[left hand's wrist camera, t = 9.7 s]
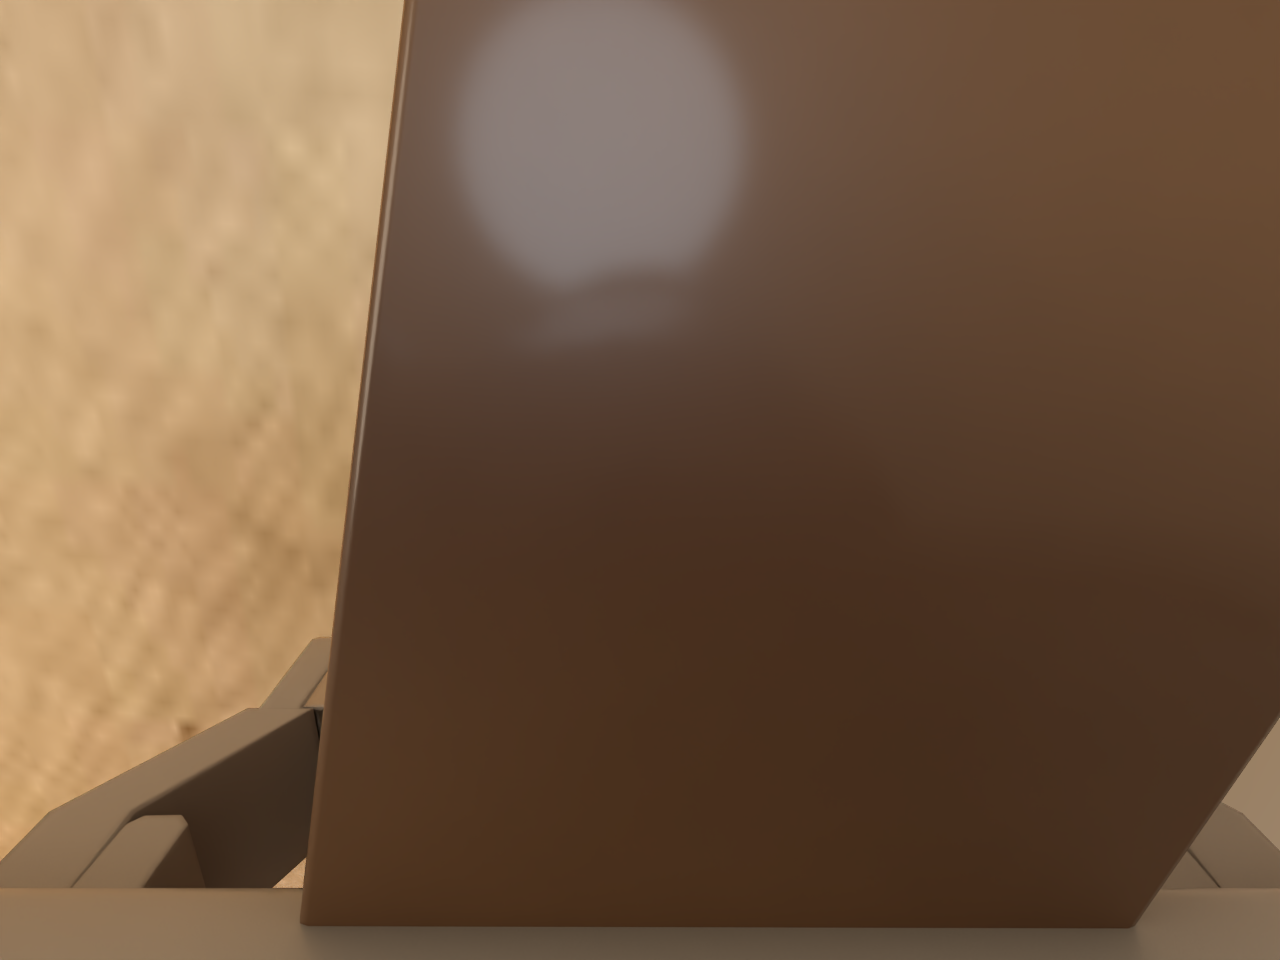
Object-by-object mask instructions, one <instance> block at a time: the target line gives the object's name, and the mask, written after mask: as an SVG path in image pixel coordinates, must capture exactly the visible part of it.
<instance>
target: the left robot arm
mask: <svg viewBox="0 0 1280 960" xmlns="http://www.w3.org/2000/svg"><path fill="white" fill-rule="evenodd" d="M331 638H332V637H319V638H316V639H312V640H311V641H310V643H309V644H308V645H307V647H306V648H305V649H304V650H303V652H302V653H301V654H300V656H299V657H298V658H297V660H296V661H295V662H294V663H293V665H292V666H291V667H290V669H289V670H288V671H287V673H286V674H285V675H284V677H283V678H282V679H281V680H280V682H279V683H278V684H277V686H276V687H275V688H274V690H273V691H272V692H271V694H270V695H269V696H268V697H267V699H266V700H265V701H264V703H263V704H262V705H261V707H260V708H247V709H245V710H243V711H242V712H240V713H238V714H236V715H234V716H232V717H230V718H228V719H226V720H224V721H222V722H221V723H219V724H217V725H215V726H213V727H211V728H209V729H207V730H205V731H203V732H201V733H199V734H198V735H196V736H194V737H192V738H190V739H188V740H186V741H184V742H182V743H180V744H178V745H176V746H175V747H173V748H171V749H169V750H167V751H165V752H163V753H161V754H159V755H157V756H155V757H153V758H152V759H150V760H148V761H146V762H144V763H142V764H140V765H138V766H136V767H134V768H132V769H130V770H129V771H127V772H125V773H123V774H121V775H119V776H117V777H115V778H113V779H111V780H109V781H107V782H106V783H104V784H102V785H100V786H98V787H96V788H94V789H92V790H90V791H88V792H86V793H84V794H83V795H81V796H79V797H77V798H75V799H73V800H71V801H69V802H67V803H65V804H63V805H61V806H60V807H58V808H56V809H54V810H52V811H50V812H48V814H47V815H46V816H45V817H44V818H43V819H42V820H41V821H40V822H39V823H38V824H37V825H36V826H35V827H34V828H33V829H32V830H31V831H30V832H29V833H28V834H27V835H26V836H25V837H24V838H23V839H22V840H21V841H20V842H19V843H18V844H17V845H16V846H15V847H14V848H13V849H12V850H11V851H10V852H9V853H8V854H7V855H6V856H5V857H4V858H3V859H2V860H1V861H0V960H1280V850H1279V849H1278V848H1277V847H1276V846H1275V845H1274V844H1273V843H1272V842H1271V841H1270V840H1269V839H1268V838H1267V837H1266V836H1265V835H1264V834H1263V833H1262V832H1261V831H1260V830H1259V829H1258V828H1257V827H1256V826H1255V825H1254V824H1253V823H1252V822H1251V821H1250V820H1249V819H1248V818H1247V817H1246V816H1245V815H1244V814H1243V813H1241V812H1239V811H1237V810H1235V809H1234V808H1232V807H1230V806H1228V805H1226V804H1224V803H1222V802H1221V803H1220V804H1219V806H1218V807H1217V808H1216V810H1215V811H1214V813H1213V814H1212V816H1211V817H1210V818H1209V820H1208V821H1207V823H1206V824H1205V826H1204V827H1203V829H1202V830H1201V831H1200V833H1199V834H1198V836H1197V837H1196V839H1195V840H1194V841H1193V843H1192V844H1191V846H1190V847H1189V849H1188V850H1187V852H1186V853H1185V854H1184V856H1183V857H1182V859H1181V860H1180V862H1179V863H1178V864H1177V866H1176V867H1175V869H1174V870H1173V872H1172V873H1171V875H1170V876H1169V877H1168V879H1167V880H1166V882H1165V883H1164V885H1163V886H1162V887H1161V889H1160V890H1159V892H1158V893H1157V895H1156V896H1155V898H1154V899H1153V900H1152V902H1151V903H1150V905H1149V906H1148V908H1147V909H1146V910H1145V912H1144V913H1143V915H1142V916H1141V918H1140V919H1139V921H1138V922H1137V923H1136V925H1135V926H1133V927H1131V928H772V927H419V926H306V925H303V924H301V923H300V910H301V902H302V893H303V888H272V887H274V886H275V885H276V884H277V883H278V882H279V881H280V880H281V879H282V878H284V877H285V876H286V875H287V874H288V873H289V872H290V871H291V870H292V869H294V868H295V867H296V866H297V865H298V864H299V863H300V862H301V861H302V860H304V859H305V858H306V857H307V849H308V840H309V831H310V823H311V814H312V805H313V796H314V787H315V779H316V770H317V761H318V752H319V744H320V735H321V726H322V717H323V708H324V700H325V691H326V682H327V673H328V665H329V656H330V647H331Z"/></svg>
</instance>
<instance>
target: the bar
mask: <svg viewBox="0 0 1280 960" xmlns="http://www.w3.org/2000/svg"><path fill="white" fill-rule="evenodd" d="M1279 718H1280V0H404V6H403V15H402V23H401V32H400V41H399V50H398V59H397V67H396V76H395V85H394V94H393V102H392V111H391V120H390V129H389V138H388V146H387V155H386V164H385V173H384V182H383V190H382V199H381V208H380V217H379V225H378V234H377V243H376V252H375V261H374V269H373V278H372V287H371V296H370V304H369V313H368V322H367V331H366V340H365V348H364V357H363V366H362V375H361V383H360V392H359V401H358V410H357V419H356V427H355V436H354V445H353V454H352V463H351V471H350V480H349V489H348V498H347V506H346V515H345V524H344V533H343V542H342V550H341V559H340V568H339V577H338V585H337V594H336V603H335V612H334V621H333V629H332V638H331V647H330V656H329V665H328V673H327V682H326V691H325V700H324V708H323V717H322V726H321V735H320V744H319V752H318V761H317V770H316V779H315V787H314V796H313V805H312V814H311V823H310V831H309V840H308V849H307V858H306V867H305V875H304V884H303V893H302V902H301V910H300V923H301V924H303V925H306V926H419V927H772V928H1131V927H1133V926H1135V925H1136V923H1137V922H1138V921H1139V919H1140V918H1141V916H1142V915H1143V913H1144V912H1145V910H1146V909H1147V908H1148V906H1149V905H1150V903H1151V902H1152V900H1153V899H1154V898H1155V896H1156V895H1157V893H1158V892H1159V890H1160V889H1161V887H1162V886H1163V885H1164V883H1165V882H1166V880H1167V879H1168V877H1169V876H1170V875H1171V873H1172V872H1173V870H1174V869H1175V867H1176V866H1177V864H1178V863H1179V862H1180V860H1181V859H1182V857H1183V856H1184V854H1185V853H1186V852H1187V850H1188V849H1189V847H1190V846H1191V844H1192V843H1193V841H1194V840H1195V839H1196V837H1197V836H1198V834H1199V833H1200V831H1201V830H1202V829H1203V827H1204V826H1205V824H1206V823H1207V821H1208V820H1209V818H1210V817H1211V816H1212V814H1213V813H1214V811H1215V810H1216V808H1217V807H1218V806H1219V804H1220V803H1221V801H1222V800H1223V798H1224V797H1225V795H1226V794H1227V793H1228V791H1229V790H1230V788H1231V787H1232V785H1233V784H1234V783H1235V781H1236V780H1237V778H1238V777H1239V775H1240V774H1241V772H1242V771H1243V769H1244V768H1245V767H1246V765H1247V764H1248V762H1249V761H1250V760H1251V758H1252V757H1253V755H1254V754H1255V752H1256V751H1257V749H1258V748H1259V747H1260V745H1261V744H1262V742H1263V741H1264V739H1265V738H1266V737H1267V735H1268V734H1269V732H1270V731H1271V729H1272V728H1273V726H1274V725H1275V724H1276V722H1277V721H1278V719H1279Z"/></svg>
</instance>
